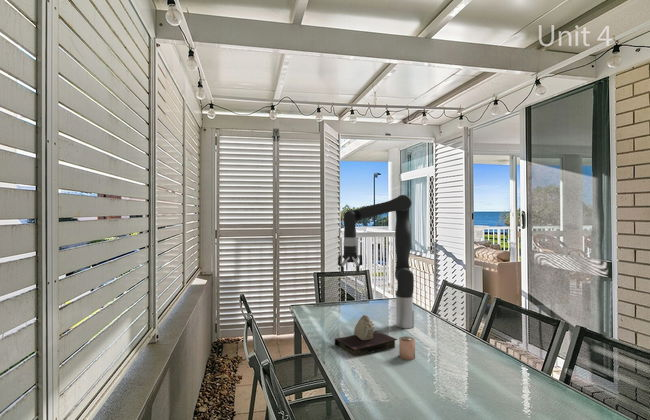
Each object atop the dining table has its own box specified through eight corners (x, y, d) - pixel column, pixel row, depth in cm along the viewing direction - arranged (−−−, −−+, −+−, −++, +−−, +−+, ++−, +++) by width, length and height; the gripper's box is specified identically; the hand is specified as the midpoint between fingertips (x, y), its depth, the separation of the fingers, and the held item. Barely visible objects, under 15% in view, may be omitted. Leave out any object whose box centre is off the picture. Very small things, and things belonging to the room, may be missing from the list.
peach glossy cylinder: (411, 353, 173) (411, 335, 173) (417, 359, 166) (417, 340, 166) (397, 354, 172) (397, 336, 172) (402, 360, 165) (402, 341, 165)
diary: (334, 347, 184) (334, 337, 184) (375, 339, 196) (375, 329, 196) (354, 360, 168) (354, 348, 168) (398, 350, 179) (398, 339, 180)
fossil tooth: (361, 335, 191) (377, 341, 177) (350, 336, 188) (366, 342, 175) (361, 312, 192) (377, 316, 179) (350, 312, 189) (366, 317, 176)
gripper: (339, 245, 214) (339, 274, 214) (363, 245, 216) (363, 273, 216) (336, 244, 221) (337, 272, 221) (360, 244, 223) (360, 271, 223)
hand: (350, 272), depth 218 cm, fingers open, 8 cm apart
